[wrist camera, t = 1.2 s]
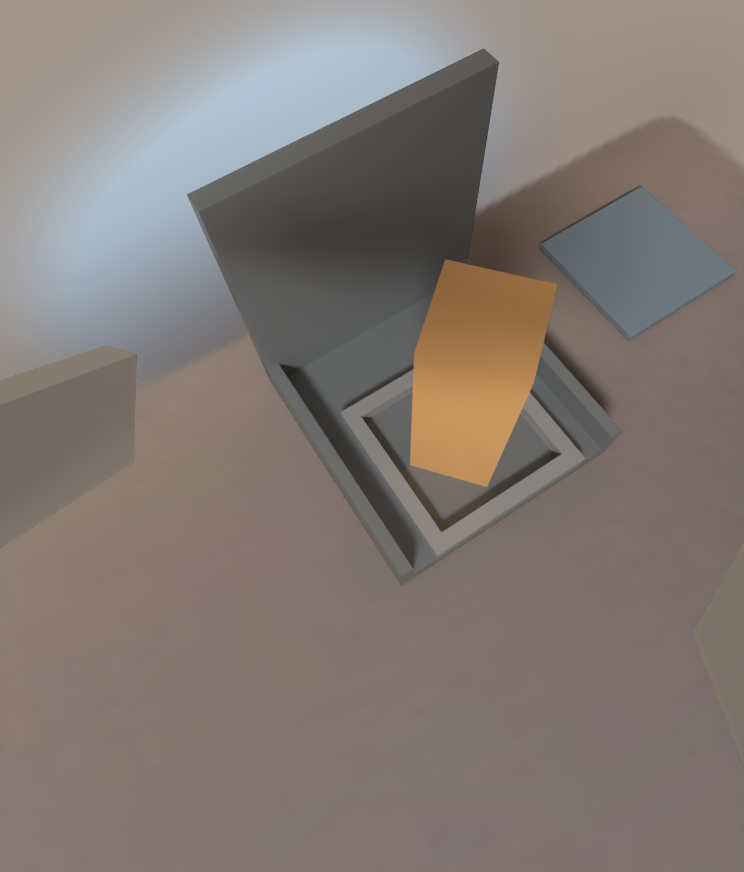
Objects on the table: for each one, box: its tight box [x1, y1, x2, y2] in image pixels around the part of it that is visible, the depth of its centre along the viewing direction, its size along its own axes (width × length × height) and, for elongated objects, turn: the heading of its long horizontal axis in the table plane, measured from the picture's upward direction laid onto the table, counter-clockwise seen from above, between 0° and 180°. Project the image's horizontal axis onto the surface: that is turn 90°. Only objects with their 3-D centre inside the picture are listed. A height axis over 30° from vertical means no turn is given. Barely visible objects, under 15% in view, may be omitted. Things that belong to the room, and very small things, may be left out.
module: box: [410, 259, 558, 487], centre depth 31 cm, size 5×5×14 cm
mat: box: [540, 186, 736, 341], centre depth 44 cm, size 10×10×1 cm
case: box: [187, 49, 622, 586], centre depth 32 cm, size 18×16×18 cm
